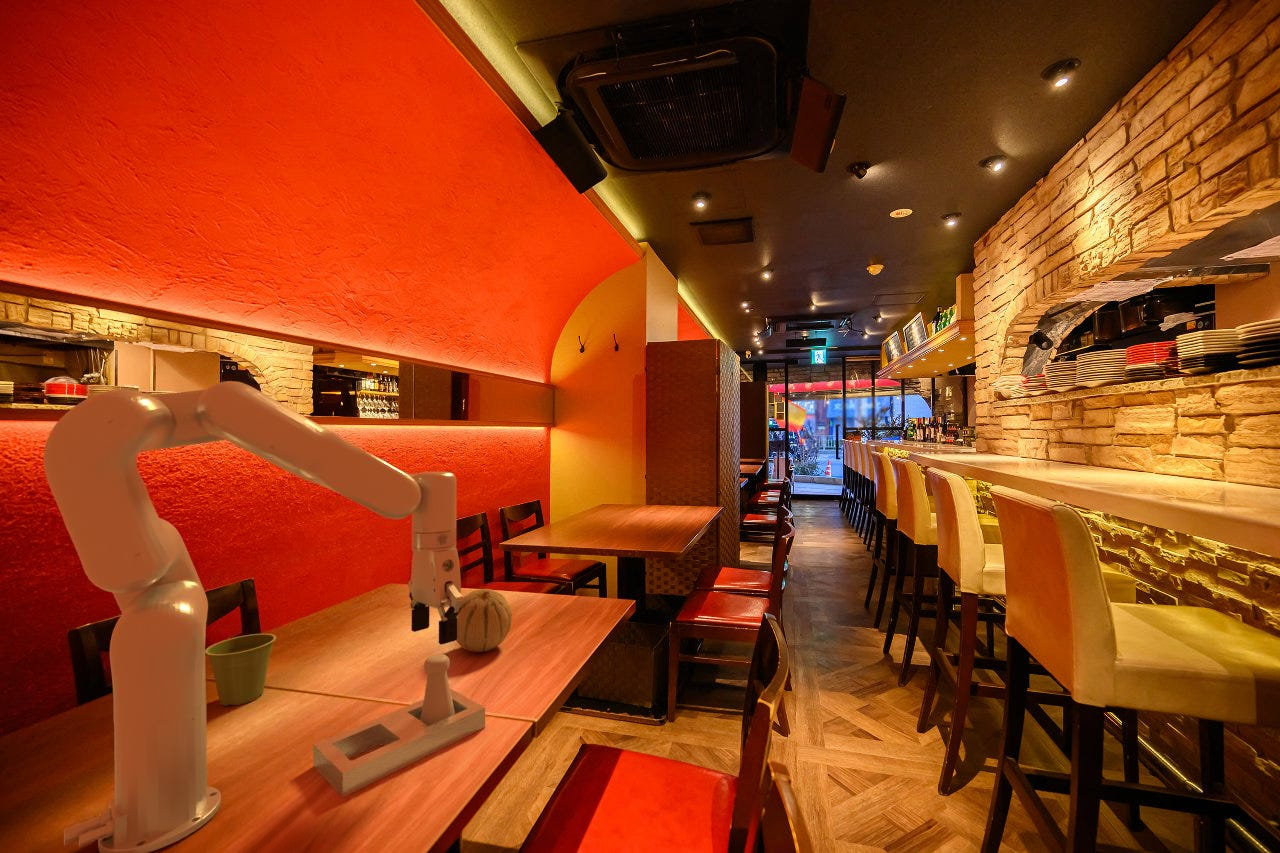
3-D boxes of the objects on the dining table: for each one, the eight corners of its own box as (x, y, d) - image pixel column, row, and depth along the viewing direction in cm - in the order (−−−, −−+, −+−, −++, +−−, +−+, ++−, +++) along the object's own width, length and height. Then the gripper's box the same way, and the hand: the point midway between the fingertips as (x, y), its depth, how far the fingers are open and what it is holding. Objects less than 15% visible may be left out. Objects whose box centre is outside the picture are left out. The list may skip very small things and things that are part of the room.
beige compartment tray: (342, 797, 78) (342, 773, 78) (313, 766, 86) (313, 744, 86) (485, 727, 96) (485, 707, 96) (450, 706, 104) (450, 688, 104)
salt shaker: (443, 740, 92) (441, 665, 93) (413, 737, 94) (412, 663, 94) (460, 722, 98) (459, 651, 98) (432, 720, 99) (431, 649, 99)
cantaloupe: (481, 634, 142) (480, 578, 143) (524, 643, 136) (523, 584, 136) (437, 655, 129) (436, 593, 129) (482, 666, 122) (481, 600, 123)
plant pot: (290, 687, 114) (289, 634, 114) (235, 716, 103) (234, 657, 103) (248, 682, 117) (247, 630, 117) (190, 709, 106) (189, 652, 106)
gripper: (479, 542, 94) (479, 641, 93) (430, 532, 105) (429, 620, 104) (439, 549, 88) (438, 654, 87) (391, 537, 99) (391, 630, 99)
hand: (433, 635), depth 96 cm, fingers open, 9 cm apart
